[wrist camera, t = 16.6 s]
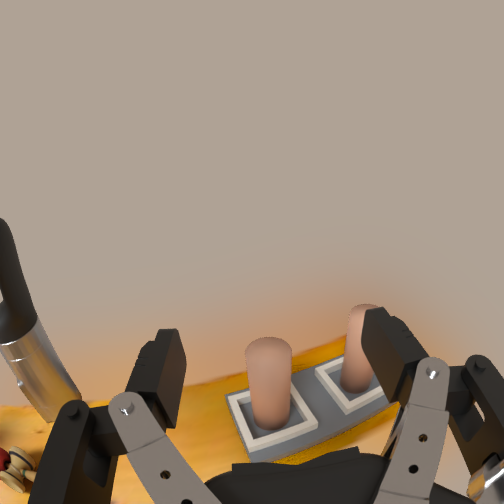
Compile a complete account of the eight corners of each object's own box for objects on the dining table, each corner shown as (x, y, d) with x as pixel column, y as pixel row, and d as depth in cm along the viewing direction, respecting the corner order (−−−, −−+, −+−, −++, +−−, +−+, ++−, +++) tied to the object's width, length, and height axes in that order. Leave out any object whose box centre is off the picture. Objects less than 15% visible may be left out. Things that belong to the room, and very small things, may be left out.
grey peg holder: (253, 467, 27) (239, 408, 22) (225, 400, 39) (209, 329, 34) (401, 399, 34) (428, 326, 28) (356, 354, 45) (366, 283, 40)
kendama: (85, 471, 25) (1, 446, 21) (67, 458, 22) (-20, 429, 18) (85, 514, 19) (-4, 482, 15) (65, 508, 15) (-27, 468, 12)
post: (272, 436, 31) (270, 374, 26) (245, 417, 34) (235, 353, 29) (296, 414, 34) (300, 348, 29) (270, 397, 37) (266, 331, 32)
